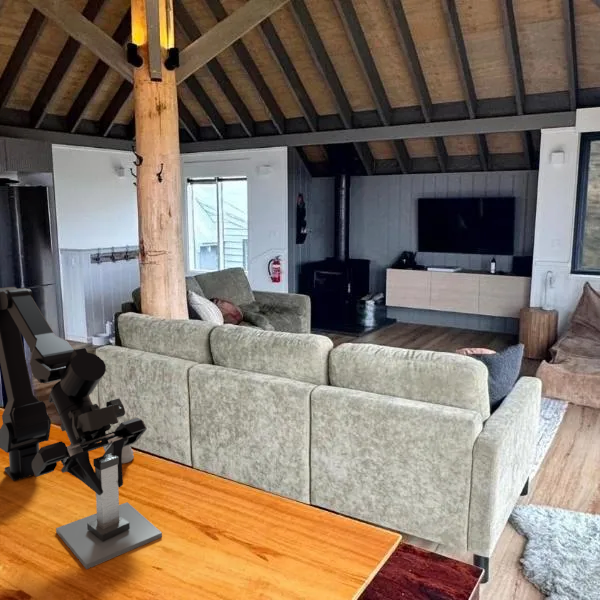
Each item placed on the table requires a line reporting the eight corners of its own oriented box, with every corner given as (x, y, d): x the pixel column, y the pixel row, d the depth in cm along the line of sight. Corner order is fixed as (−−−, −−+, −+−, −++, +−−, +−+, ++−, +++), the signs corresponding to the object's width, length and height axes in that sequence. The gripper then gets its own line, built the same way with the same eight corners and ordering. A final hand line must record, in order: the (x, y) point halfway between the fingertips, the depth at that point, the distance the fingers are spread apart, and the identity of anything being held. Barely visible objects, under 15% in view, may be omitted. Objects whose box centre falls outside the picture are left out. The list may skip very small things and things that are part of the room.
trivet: (56, 532, 95) (56, 528, 95) (127, 506, 104) (127, 502, 103) (86, 569, 86) (86, 564, 85) (161, 536, 94) (161, 532, 94)
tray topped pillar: (87, 529, 94) (84, 458, 92) (114, 517, 98) (111, 449, 96) (102, 541, 91) (99, 468, 89) (129, 529, 95) (127, 458, 93)
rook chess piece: (127, 465, 120) (126, 430, 118) (109, 463, 121) (107, 428, 119) (137, 456, 124) (136, 422, 123) (119, 454, 125) (118, 420, 124)
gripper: (35, 400, 86) (72, 491, 81) (139, 375, 100) (177, 450, 95) (16, 433, 92) (50, 519, 87) (117, 405, 106) (151, 478, 101)
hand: (111, 489), depth 92 cm, fingers open, 3 cm apart
